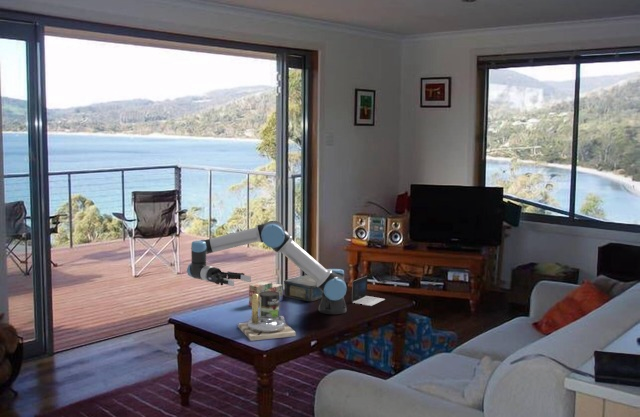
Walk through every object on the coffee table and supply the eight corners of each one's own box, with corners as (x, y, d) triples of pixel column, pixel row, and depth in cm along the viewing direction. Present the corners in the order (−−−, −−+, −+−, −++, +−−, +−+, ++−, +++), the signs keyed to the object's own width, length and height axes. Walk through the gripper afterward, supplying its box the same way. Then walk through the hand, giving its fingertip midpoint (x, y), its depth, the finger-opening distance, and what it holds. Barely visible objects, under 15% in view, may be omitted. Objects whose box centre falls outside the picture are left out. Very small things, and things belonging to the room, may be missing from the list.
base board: (238, 327, 328) (238, 323, 328) (280, 323, 337) (280, 319, 336) (250, 340, 308) (250, 336, 308) (295, 336, 316) (295, 331, 316)
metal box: (282, 297, 390) (282, 280, 389) (315, 286, 416) (315, 271, 415) (311, 303, 378) (311, 286, 376) (343, 292, 404) (343, 276, 402)
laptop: (371, 307, 372) (371, 284, 370) (351, 303, 379) (352, 281, 377) (385, 300, 387) (386, 278, 386) (366, 297, 394) (366, 275, 392)
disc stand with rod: (276, 320, 334) (277, 287, 332) (290, 330, 318) (291, 295, 316) (242, 324, 326) (242, 290, 324) (255, 334, 310) (255, 299, 308)
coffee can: (282, 321, 341) (283, 294, 339) (265, 324, 334) (266, 297, 333) (272, 316, 349) (272, 290, 347) (255, 319, 343) (255, 292, 341)
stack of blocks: (274, 298, 385) (274, 278, 383) (282, 300, 381) (283, 279, 379) (248, 306, 368) (249, 284, 366) (257, 308, 364) (257, 286, 363)
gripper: (228, 277, 346) (258, 284, 332) (193, 285, 328) (224, 293, 314) (228, 263, 345) (258, 270, 331) (193, 270, 327) (224, 277, 313)
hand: (242, 281), depth 322 cm, fingers open, 11 cm apart
